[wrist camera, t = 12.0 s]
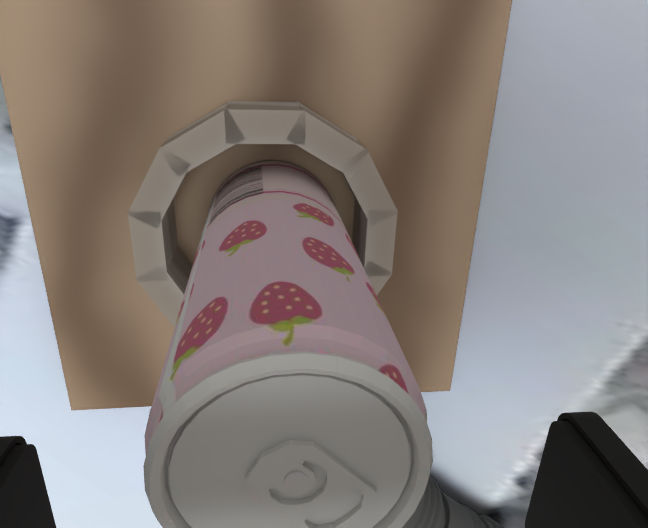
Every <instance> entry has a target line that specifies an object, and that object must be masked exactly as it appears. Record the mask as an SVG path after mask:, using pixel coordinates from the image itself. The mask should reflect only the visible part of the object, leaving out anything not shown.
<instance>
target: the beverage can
mask: <svg viewBox="0 0 648 528" xmlns="http://www.w3.org/2000/svg"><path fill="white" fill-rule="evenodd" d="M145 449H146V458H145V462H144V481H145V491H146V494H147V497H148V500H149V502H150V505H151V508H152V511H153V513H154V515H155V516H156V518H157V520H158V521H159V523H160V524H161V526H162V527H163V528H402V527H403V526H404V524H405V523H406V522H407V521H408V520H409V518H410V517H411V516H412V515H413V513H414V512H415V510H416V508H417V506H418V504H419V502H420V500H421V498H422V496H423V494H424V492H425V489H426V486H427V483H428V479H429V475H430V470H431V466H432V462H433V458H432V438H431V435H430V432H429V428H428V425H427V412H426V407H425V404H424V401H423V398H422V395H421V392H420V388H419V386H418V384H417V382H416V380H415V378H414V375H413V373H412V371H411V369H410V367H409V365H408V362H407V360H406V358H405V356H404V354H403V352H402V349H401V347H400V345H399V343H398V341H397V339H396V336H395V334H394V332H393V330H392V328H391V326H390V323H389V321H388V319H387V317H386V315H385V313H384V310H383V308H382V306H381V304H380V302H379V300H378V297H377V295H376V293H375V291H374V289H373V287H372V284H371V282H370V280H369V278H368V276H367V274H366V271H365V269H364V267H363V265H362V263H361V261H360V258H359V256H358V254H357V252H356V250H355V248H354V245H353V243H352V241H351V239H350V237H349V235H348V232H347V230H346V228H345V226H344V224H343V222H342V219H341V217H340V215H339V213H338V211H337V209H336V207H335V204H334V202H333V200H332V198H331V196H330V194H329V193H328V191H327V189H326V188H325V186H324V185H323V184H322V183H321V182H320V181H319V180H318V179H317V178H316V177H315V176H314V175H313V174H311V173H310V172H308V171H307V170H305V169H304V168H301V167H299V166H297V165H294V164H292V163H287V162H281V161H262V162H258V163H254V164H250V165H247V166H245V167H243V168H241V169H239V170H237V171H236V172H234V173H233V174H232V175H231V176H229V177H228V178H227V179H226V180H225V181H224V182H223V183H222V185H221V186H220V187H219V188H218V190H217V192H216V194H215V196H214V198H213V200H212V202H211V205H210V208H209V212H208V215H207V219H206V222H205V225H204V229H203V232H202V236H201V239H200V243H199V246H198V249H197V253H196V256H195V260H194V263H193V267H192V270H191V273H190V277H189V280H188V284H187V287H186V290H185V294H184V297H183V301H182V304H181V308H180V311H179V314H178V318H177V321H176V325H175V328H174V331H173V335H172V338H171V342H170V345H169V349H168V352H167V355H166V359H165V362H164V366H163V369H162V372H161V376H160V379H159V383H158V386H157V390H156V393H155V396H154V400H153V403H152V407H151V410H150V414H149V419H148V423H147V428H146V432H145Z"/></svg>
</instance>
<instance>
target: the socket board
mask: <svg viewBox="0 0 648 528" xmlns="http://www.w3.org/2000/svg"><path fill="white" fill-rule="evenodd" d="M511 4H512V0H0V75H1V80H2V84H3V89H4V94H5V98H6V103H7V108H8V113H9V117H10V122H11V127H12V132H13V136H14V141H15V146H16V150H17V155H18V160H19V165H20V169H21V174H22V179H23V184H24V188H25V193H26V198H27V202H28V207H29V212H30V217H31V221H32V226H33V231H34V235H35V240H36V245H37V250H38V254H39V259H40V264H41V269H42V273H43V278H44V283H45V287H46V292H47V297H48V302H49V306H50V311H51V316H52V321H53V325H54V330H55V335H56V339H57V344H58V349H59V354H60V358H61V363H62V368H63V373H64V377H65V382H66V387H67V391H68V396H69V401H70V406H71V410H87V409H106V408H125V407H144V406H152V403H153V400H154V396H155V393H156V390H157V386H158V383H159V379H160V376H161V372H162V369H163V366H164V362H165V359H166V355H167V352H168V349H169V345H170V342H171V338H172V335H173V331H174V328H175V325H176V321H177V318H178V314H179V311H180V308H181V304H182V301H183V297H184V294H185V290H186V287H187V284H188V280H189V277H190V273H191V270H192V267H193V263H194V260H195V256H196V253H197V249H198V246H199V243H200V239H201V236H202V232H203V229H204V225H205V222H206V219H207V215H208V212H209V208H210V205H211V202H212V200H213V198H214V196H215V194H216V192H217V190H218V188H219V187H220V186H221V185H222V183H223V182H224V181H225V180H226V179H227V178H228V177H229V176H231V175H232V174H233V173H234V172H236V171H237V170H239V169H241V168H243V167H245V166H247V165H250V164H254V163H258V162H262V161H281V162H287V163H292V164H294V165H297V166H299V167H301V168H304V169H305V170H307V171H308V172H310V173H311V174H313V175H314V176H315V177H316V178H317V179H318V180H319V181H320V182H321V183H322V184H323V185H324V186H325V188H326V189H327V191H328V193H329V194H330V196H331V198H332V200H333V202H334V204H335V207H336V209H337V211H338V213H339V215H340V217H341V219H342V222H343V224H344V226H345V228H346V230H347V232H348V235H349V237H350V239H351V241H352V243H353V245H354V248H355V250H356V252H357V254H358V256H359V258H360V261H361V263H362V265H363V267H364V269H365V271H366V274H367V276H368V278H369V280H370V282H371V284H372V287H373V289H374V291H375V293H376V295H377V297H378V300H379V302H380V304H381V306H382V308H383V310H384V313H385V315H386V317H387V319H388V321H389V323H390V326H391V328H392V330H393V332H394V334H395V336H396V339H397V341H398V343H399V345H400V347H401V349H402V352H403V354H404V356H405V358H406V360H407V362H408V365H409V367H410V369H411V371H412V373H413V375H414V378H415V380H416V382H417V384H418V386H419V388H420V392H433V391H450V388H451V381H452V375H453V369H454V362H455V356H456V350H457V344H458V337H459V331H460V325H461V318H462V312H463V306H464V300H465V293H466V287H467V281H468V274H469V268H470V262H471V256H472V249H473V243H474V237H475V230H476V224H477V218H478V212H479V205H480V199H481V193H482V186H483V180H484V174H485V167H486V161H487V155H488V149H489V142H490V136H491V130H492V123H493V117H494V111H495V105H496V98H497V92H498V86H499V79H500V73H501V67H502V61H503V54H504V48H505V42H506V35H507V29H508V23H509V17H510V10H511Z"/></svg>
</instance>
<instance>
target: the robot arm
mask: <svg viewBox="0 0 648 528" xmlns="http://www.w3.org/2000/svg"><path fill="white" fill-rule="evenodd" d="M0 528H56V525H55V521H54V517H53V513H52V509H51V505H50V501H49V497H48V494H47V490H46V486H45V482H44V478H43V474H42V470H41V466H40V462H39V458H38V454H37V450H36V448H35V446H34V445H32V444H27V443H26V441H25V439H24V438H23V437H22V436H6V437H0ZM525 528H648V470H647V469H646V468H645V466H644V465H643V464H642V463H641V462H640V461H639V460H638V459H637V457H636V456H635V455H634V454H633V453H632V452H631V451H630V450H629V448H628V447H627V446H626V445H625V444H624V443H623V442H622V441H621V439H620V438H619V437H618V436H617V435H616V434H615V433H614V432H613V430H612V429H611V428H610V427H609V426H608V425H607V424H606V423H605V421H604V420H603V419H602V418H601V417H600V416H599V415H598V414H596V413H594V412H574V413H562V414H561V415H560V416H559V417H558V420H557V421H554V422H552V423H551V425H550V428H549V432H548V436H547V440H546V444H545V447H544V451H543V455H542V459H541V463H540V466H539V470H538V474H537V478H536V482H535V485H534V489H533V493H532V497H531V501H530V505H529V508H528V512H527V516H526V520H525Z"/></svg>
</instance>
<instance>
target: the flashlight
mask: <svg viewBox="0 0 648 528" xmlns="http://www.w3.org/2000/svg"><path fill="white" fill-rule="evenodd" d="M402 528H504V527H503V526H501V525H500V524H498V523H497V522H496V521H494V520H493V519H492V518H490V517H488V516H486V515H481V516H480V515H479V514H477V513H475V512H474V511H472V510H471V509H470V508H468V507H467V506H465V505H463V504H461V503H457V502H456V501H454V500H453V499H452V498H450V497H449V496H448V495H446V494H445V493H443V492H442V491H441V490H440V488H439V486H438V484H437V482H436V480H435V479H434V478H433V477H432V476H431V475H429V479H428V483H427V486H426V489H425V492H424V494H423V496H422V498H421V500H420V502H419V504H418V506H417V508H416V510H415V512H414V513H413V515H412V516H411V517H410V518H409V520H408V521H407V522H406V523H405V524H404V526H403V527H402Z"/></svg>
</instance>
